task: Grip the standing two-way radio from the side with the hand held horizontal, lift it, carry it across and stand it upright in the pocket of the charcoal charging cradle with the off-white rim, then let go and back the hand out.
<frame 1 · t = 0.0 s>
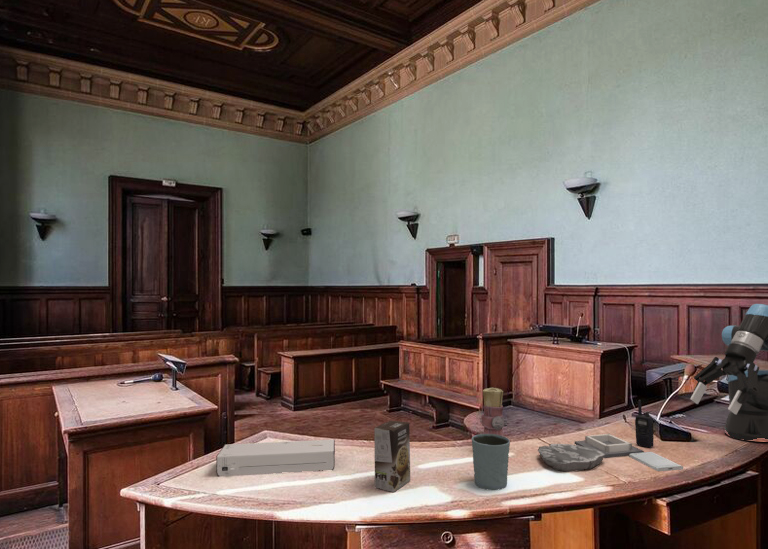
hand: (712, 406, 150), 15 cm above the table, tool tilted 35°, fingers open, 13 cm apart
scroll: (492, 452, 157), on the table
laminator: (278, 469, 147), on the table
grey cup: (491, 484, 132), on the table
two-way radio: (645, 446, 161), on the table
hard drive: (655, 465, 145), on the table
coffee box: (393, 485, 132), on the table
charging cradle: (608, 449, 158), on the table
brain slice: (567, 463, 147), on the table
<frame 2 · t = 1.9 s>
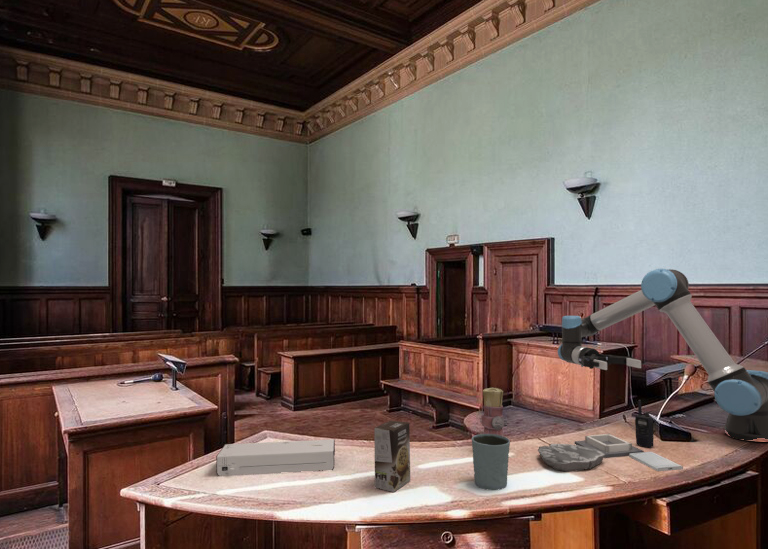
hand: (623, 365, 171), 25 cm above the table, tool horizontal, fingers open, 13 cm apart
nothing on the table moved.
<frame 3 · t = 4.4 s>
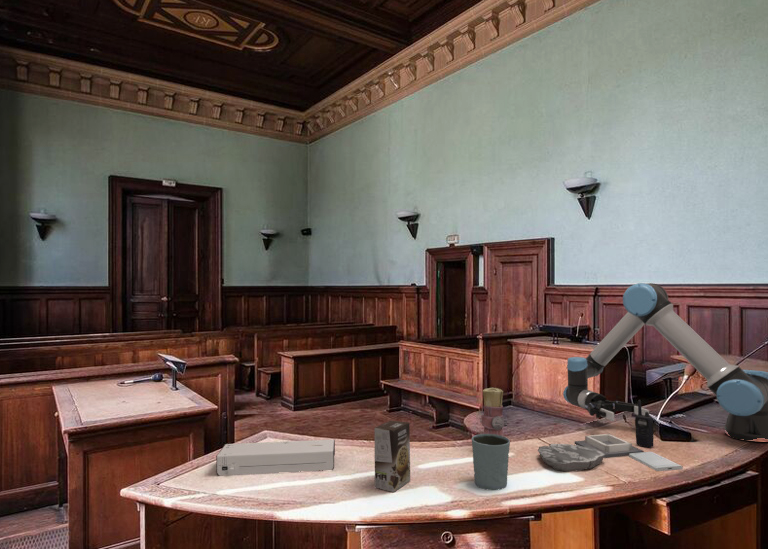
hand: (631, 415, 167), 8 cm above the table, tool horizontal, fingers open, 13 cm apart
nothing on the table moved.
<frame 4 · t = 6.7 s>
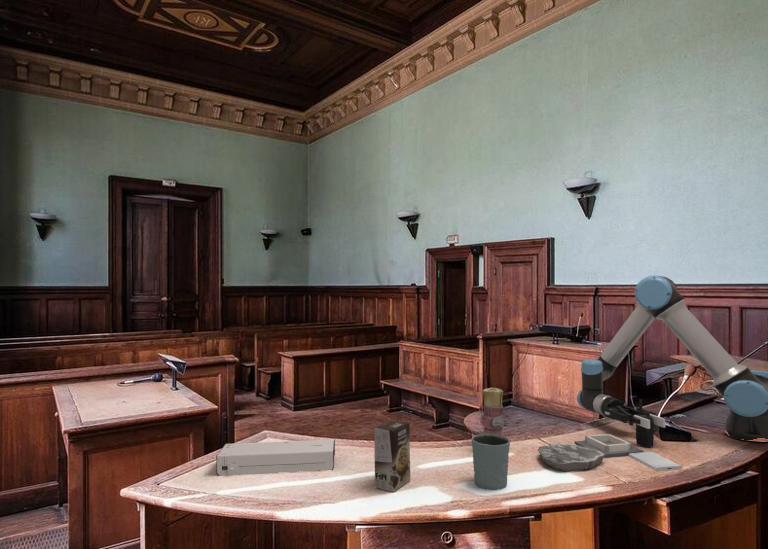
hand: (656, 423, 156), 9 cm above the table, tool horizontal, fingers closed on two-way radio, 5 cm apart
two-way radio: (645, 446, 161), on the table, touching gripper
everything else where it was.
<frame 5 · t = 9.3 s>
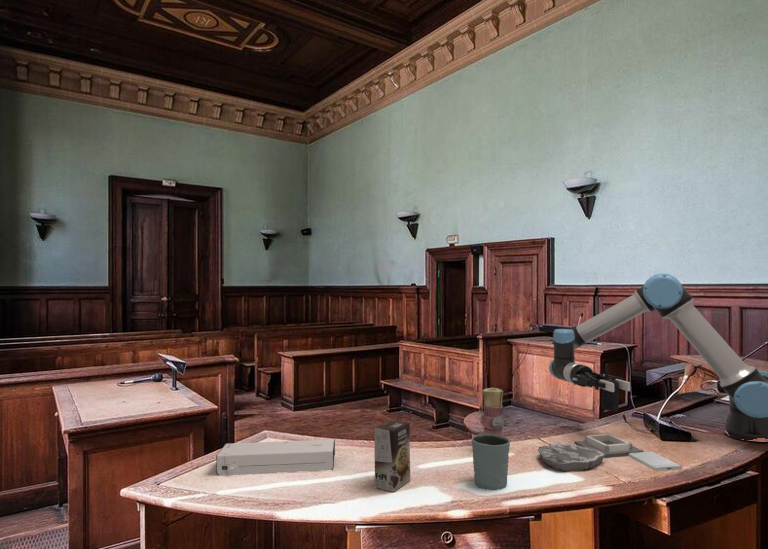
hand: (621, 387, 155), 21 cm above the table, tool horizontal, fingers closed on two-way radio, 5 cm apart
two-way radio: (611, 410, 160), point 12 cm above the table, touching gripper
everything else where it was.
when the fingers open (11 cm above the table, at t = 11.9 s): two-way radio drops 1 cm, resting on charging cradle.
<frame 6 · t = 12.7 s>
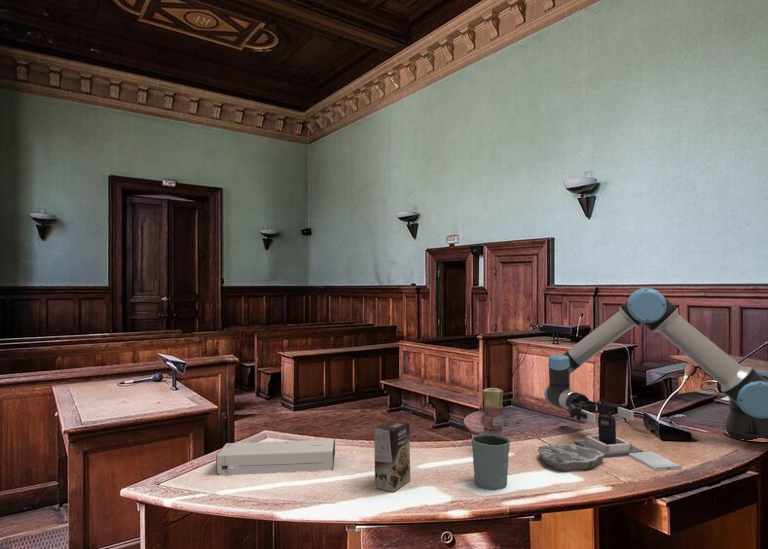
hand: (613, 417, 155), 11 cm above the table, tool horizontal, fingers open, 13 cm apart
two-way radio: (608, 446, 158), point 1 cm above the table, touching charging cradle
everything else where it was.
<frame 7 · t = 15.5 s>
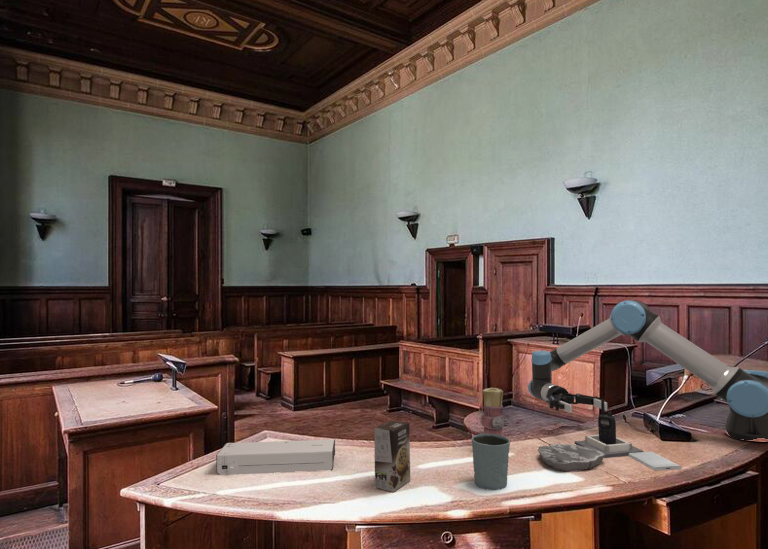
hand: (588, 407, 168), 11 cm above the table, tool horizontal, fingers open, 13 cm apart
nothing on the table moved.
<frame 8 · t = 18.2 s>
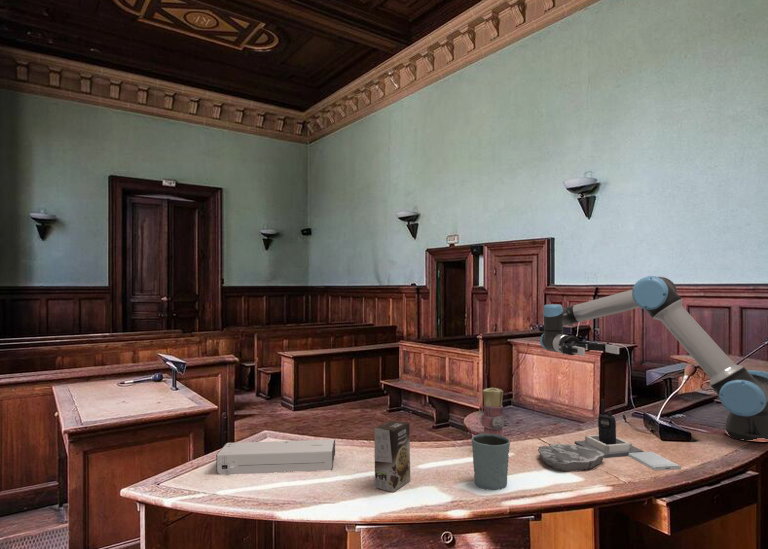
hand: (601, 351, 172), 30 cm above the table, tool horizontal, fingers open, 13 cm apart
nothing on the table moved.
at the end: two-way radio 0.3 cm off-centre on the charging cradle, point 0.8 cm above the charging cradle's base; two-way radio tilted 0°; the gripper is holding nothing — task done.
